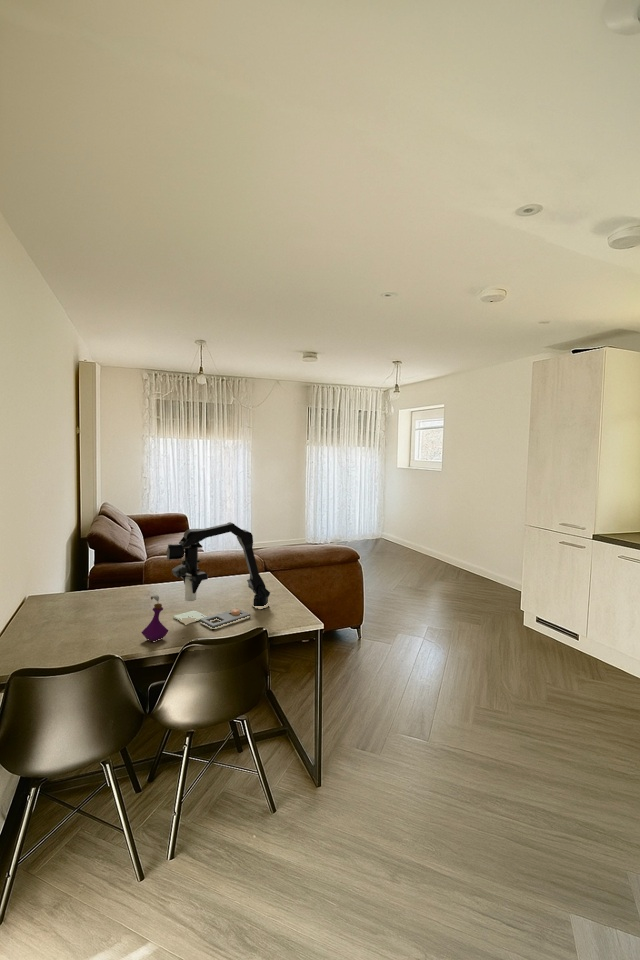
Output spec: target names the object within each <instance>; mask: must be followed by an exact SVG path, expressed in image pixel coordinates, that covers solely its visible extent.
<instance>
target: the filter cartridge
mask: <svg viewBox="0 0 640 960" xmlns="http://www.w3.org/2000/svg"><path fill="white" fill-rule="evenodd" d="M191 577H192V576H191V575H187V576H186V577H185V584H184V601H185V602H195V601H197V592H196V593H193V591H192V582H191V581H190V580H189V579H192V578H191Z"/></svg>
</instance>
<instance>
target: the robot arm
mask: <svg viewBox="0 0 640 960" xmlns="http://www.w3.org/2000/svg"><path fill="white" fill-rule="evenodd" d="M227 533H231V534H233V536H236V539H237V541H238V543H239V545H240V547H241V548H242V551H243V554H244V558H245V562H246V565H247V569H248V573H249V578H248V579H247V580H246V582H247V583H248V588H249V589H250V590H251V591H252V592H253V594H254V595H253V596H254V597H253V604H252V605H254V606H264V605H266V604H267V603H268V602H269V597H270V595H271V592H270V591H269V590H268V589H267V588H266V584H265V582H264V580H263V578H262V577H261V575H260V573H259V572H260V571H259V569H258V564H257V561H256V557H255V553H254V550H253V547H254V546H253V545H254V536H253V533H251V532H250V531H248V530H246V529H241V528H240V527H239V526H237V525H236V524H235V523H233V522H227V523H223V524H219V525H214V526H210V527H205V528H189V529H186V530H185V531H184V533H183V537H182V538H181V539H180V541H179V542H178V543H174V544H172V543H169V544H167V548H166V559H167V561H173V560H182V559H183V558H184V559H183V560H182V561H181V563H180V564H179V565H176V566H175V567H173V568H172V569H171V572H172V575H173V577H176V579H177V578H180V579H182V581H183V583H184V585H185V577H186V576H187V575H191V576H192V577H191V578H192V579H189V580H190V581H191V582H192V591H193V593H196V594H197V590H198V588H199V586H200V584H201V583H202V581H205V580H208V578H209V574H208V573H206V572H205V571H200V568H198V567H199V564H198V563H200V562H201V561H200V559H199V549H200V548H203V545H202V544H201V543H200V542H202V541H203V540H205V539H207V538H211V537H214V536H215V537H216V536H219V535H223V534H227ZM268 604H269V603H268Z"/></svg>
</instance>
